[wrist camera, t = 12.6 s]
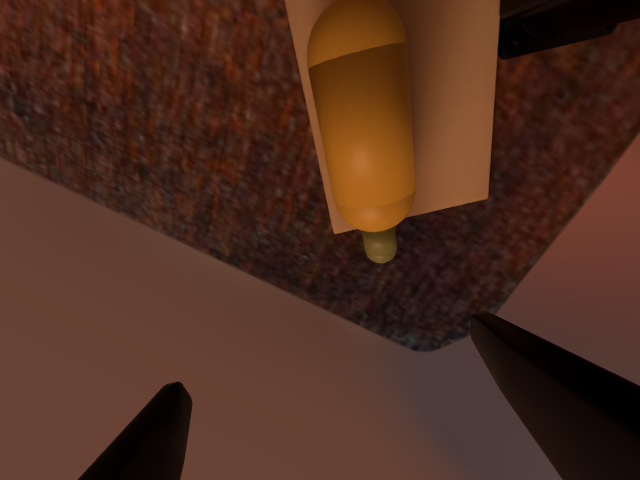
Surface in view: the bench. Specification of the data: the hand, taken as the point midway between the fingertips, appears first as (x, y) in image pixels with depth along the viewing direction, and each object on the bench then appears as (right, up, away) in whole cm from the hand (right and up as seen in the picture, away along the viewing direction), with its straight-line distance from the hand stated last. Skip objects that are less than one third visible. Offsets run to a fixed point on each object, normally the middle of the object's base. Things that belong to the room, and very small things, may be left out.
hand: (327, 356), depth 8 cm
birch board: (+4, +12, +8) cm, 15 cm away
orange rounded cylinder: (+2, +9, +9) cm, 13 cm away
